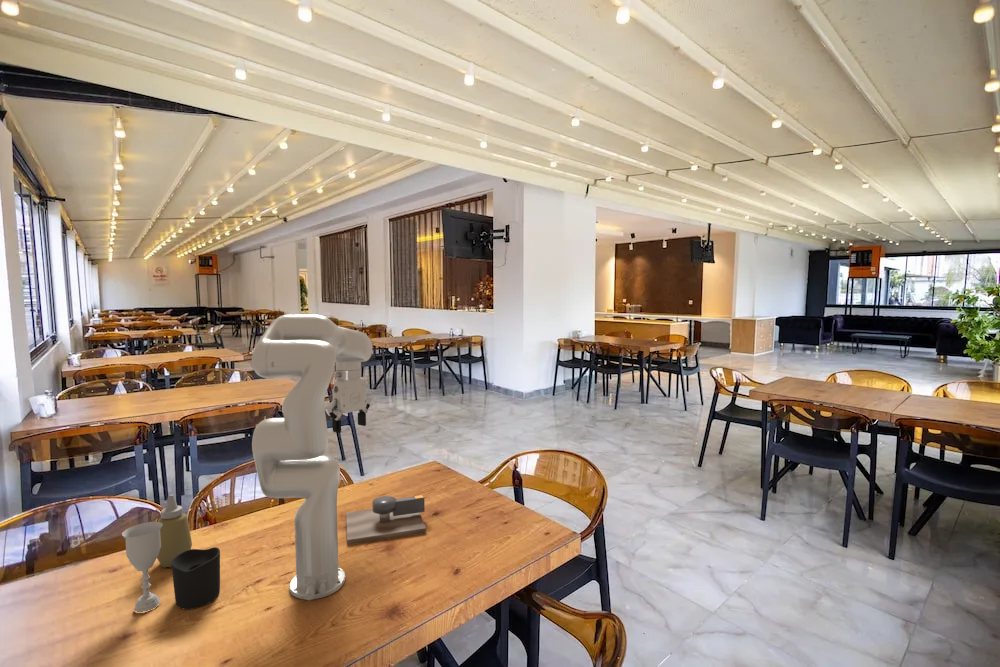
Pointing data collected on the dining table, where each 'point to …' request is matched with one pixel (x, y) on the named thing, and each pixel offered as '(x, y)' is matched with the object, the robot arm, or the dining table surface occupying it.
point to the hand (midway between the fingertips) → (349, 428)
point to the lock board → (381, 526)
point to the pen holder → (196, 577)
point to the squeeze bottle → (173, 532)
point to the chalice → (144, 557)
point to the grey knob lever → (398, 505)
